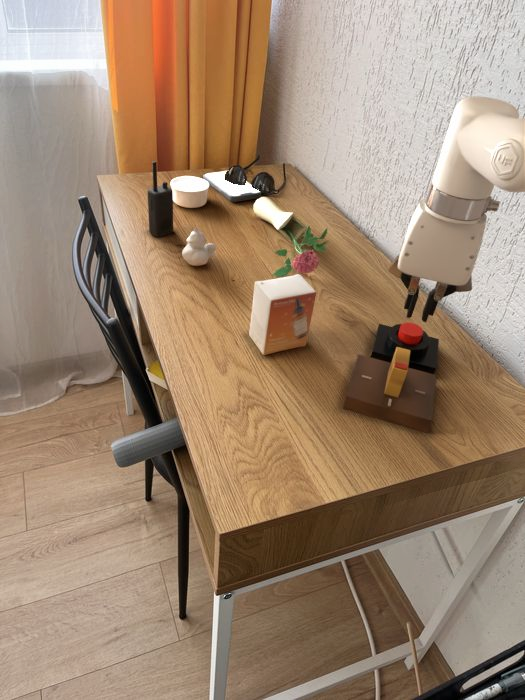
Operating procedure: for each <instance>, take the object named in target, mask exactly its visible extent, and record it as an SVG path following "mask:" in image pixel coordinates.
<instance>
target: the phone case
mask: <svg viewBox="0 0 525 700" xmlns="http://www.w3.org/2000/svg"><path fill="white" fill-rule="evenodd" d="M227 171H228V170H222V171H221V170H220V171H215V172H208V173H204V174H202V175H203V176H202V177H203V178H202V179H204V180H206V181H207V182H208V183H209V186H210V187H212V188H214V189H215V190H216V191H217V192H218V193H220V194H221V195H222V196H224V197H225V198H226V199H227V200H229V201H230V202H233V203H234V202H235V203H236V202H242V201H250V200H255V199H256V200H257V199H259V198H261V197H262V190H260V189H258V188H257V189H258V190H257V189H255V188H253V187H252V185H253V184H251V183H250V182H248V181H247V180H246V183H245V185H238V184H233V183H231V182H229V181H227V180H225V174H226V172H227ZM259 190H260V191H259Z"/></svg>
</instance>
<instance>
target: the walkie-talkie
mask: <svg viewBox="0 0 525 700" xmlns="http://www.w3.org/2000/svg"><path fill="white" fill-rule="evenodd" d="M151 164H152V165H151V167H152V168H151V169H152V187H151V188H148V190H147V211H148V232H149V233H150V234H151V235H153V236H155V237H162V236H165V235H168V234H172V233H173V232H174V201H173V190H172V187H169V186H168V182H167V181H163V182H162V185H159V186H158V168H157V167H158V165H157V164H158V163H157V161H155V160H154V161H152V162H151Z"/></svg>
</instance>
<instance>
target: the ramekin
mask: <svg viewBox="0 0 525 700" xmlns="http://www.w3.org/2000/svg"><path fill="white" fill-rule="evenodd" d="M170 188H171V189H172V190H173V203H174V204H175V205H177V206H180V207H182V208H187V209H194V208H195V209H197V208H200V207H203V206H205V205H206V203H207V201H208V196H209V189H210V184H209V183H208V182H207V181H206V180H204V179H203V178H201V177H198V176H192V175H182V176H177V177H174V178H173V179H171V181H170Z"/></svg>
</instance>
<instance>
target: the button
mask: <svg viewBox="0 0 525 700" xmlns="http://www.w3.org/2000/svg"><path fill="white" fill-rule="evenodd" d="M401 324H402V325H401V326H400V329H399V332H398V338H399V339H400V340H401V341H403V342H404V343H407V344H411V345H414V344H418V343H419V342H420V340H421V338H422V335H423V331H424V329H423V327H421V326H420V325H418V324H416V323H414V322H408V321H407V322H404V323H401Z"/></svg>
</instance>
